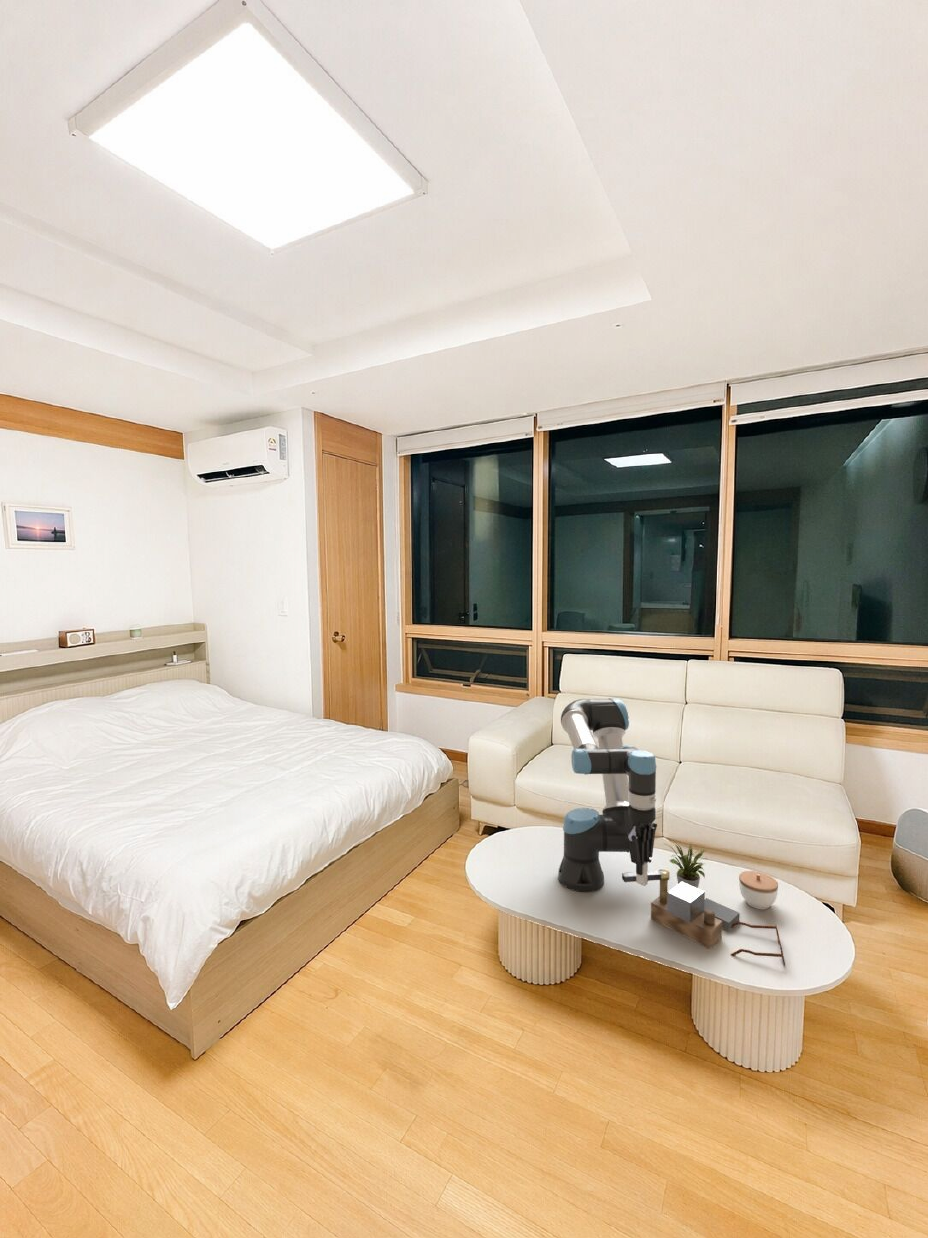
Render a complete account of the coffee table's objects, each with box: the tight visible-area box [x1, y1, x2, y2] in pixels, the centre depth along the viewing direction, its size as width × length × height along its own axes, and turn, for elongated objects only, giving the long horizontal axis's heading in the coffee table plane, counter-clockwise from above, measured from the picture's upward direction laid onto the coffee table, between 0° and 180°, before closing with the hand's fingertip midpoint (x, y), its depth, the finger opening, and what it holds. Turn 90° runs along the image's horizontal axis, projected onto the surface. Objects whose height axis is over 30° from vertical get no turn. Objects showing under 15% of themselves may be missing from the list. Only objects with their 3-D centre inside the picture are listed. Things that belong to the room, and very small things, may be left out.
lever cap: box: [667, 882, 706, 923], centre depth 160 cm, size 7×8×6 cm
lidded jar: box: [738, 870, 779, 910], centre depth 172 cm, size 11×11×9 cm
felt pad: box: [704, 897, 741, 932], centre depth 165 cm, size 10×7×2 cm
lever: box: [621, 868, 671, 883], centre depth 165 cm, size 14×3×2 cm, turn 95°
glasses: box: [730, 921, 786, 965], centre depth 153 cm, size 13×13×5 cm
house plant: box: [664, 843, 708, 889], centre depth 177 cm, size 14×14×16 cm
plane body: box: [650, 880, 723, 950], centre depth 160 cm, size 18×7×12 cm, turn 41°
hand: (641, 883), depth 162 cm, fingers closed
